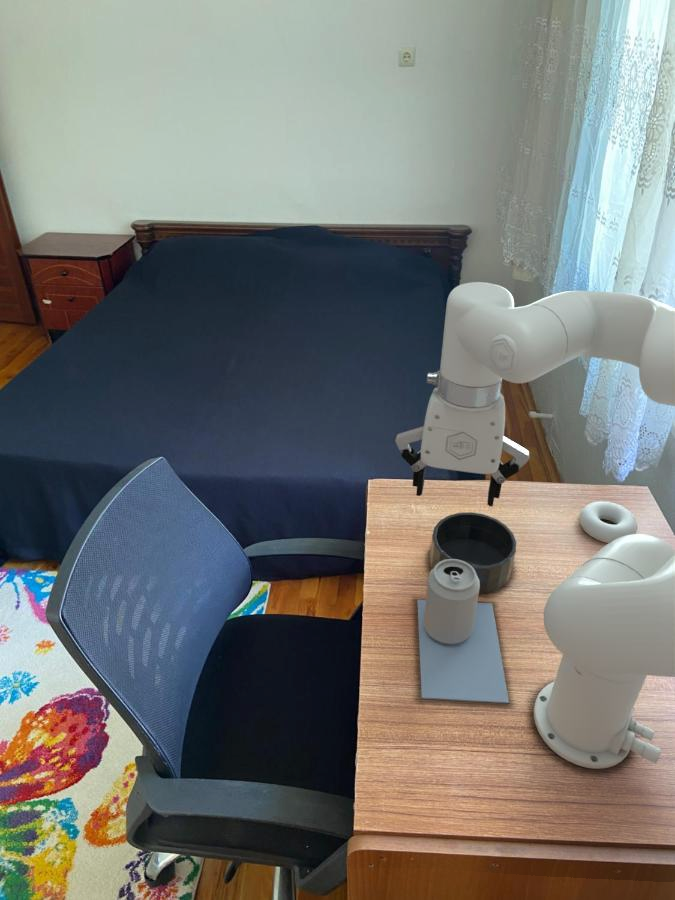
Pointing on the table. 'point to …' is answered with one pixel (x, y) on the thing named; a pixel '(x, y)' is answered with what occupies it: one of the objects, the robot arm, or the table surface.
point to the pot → (476, 547)
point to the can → (451, 601)
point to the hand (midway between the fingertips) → (454, 494)
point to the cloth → (463, 662)
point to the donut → (609, 512)
